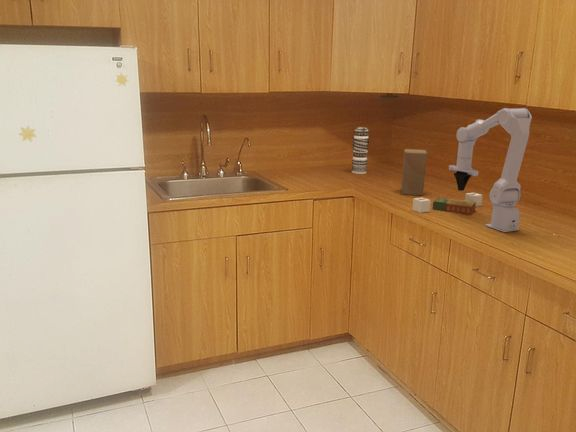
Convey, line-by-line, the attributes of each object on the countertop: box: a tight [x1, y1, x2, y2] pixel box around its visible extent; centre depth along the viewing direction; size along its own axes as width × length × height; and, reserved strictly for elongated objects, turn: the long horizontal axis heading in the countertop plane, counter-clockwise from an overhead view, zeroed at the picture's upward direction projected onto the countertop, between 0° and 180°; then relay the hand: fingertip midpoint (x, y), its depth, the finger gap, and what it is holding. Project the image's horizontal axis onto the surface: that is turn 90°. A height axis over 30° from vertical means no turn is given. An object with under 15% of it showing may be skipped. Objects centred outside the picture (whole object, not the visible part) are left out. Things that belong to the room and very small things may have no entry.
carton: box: [432, 196, 476, 216], centre depth 226 cm, size 8×16×4 cm, turn 61°
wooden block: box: [400, 148, 428, 196], centre depth 253 cm, size 10×10×20 cm
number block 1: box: [412, 197, 432, 214], centre depth 223 cm, size 5×5×5 cm
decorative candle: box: [351, 126, 370, 175], centre depth 299 cm, size 9×9×25 cm
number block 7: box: [464, 192, 484, 208], centre depth 235 cm, size 5×5×5 cm
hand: (461, 190), depth 222 cm, fingers closed
